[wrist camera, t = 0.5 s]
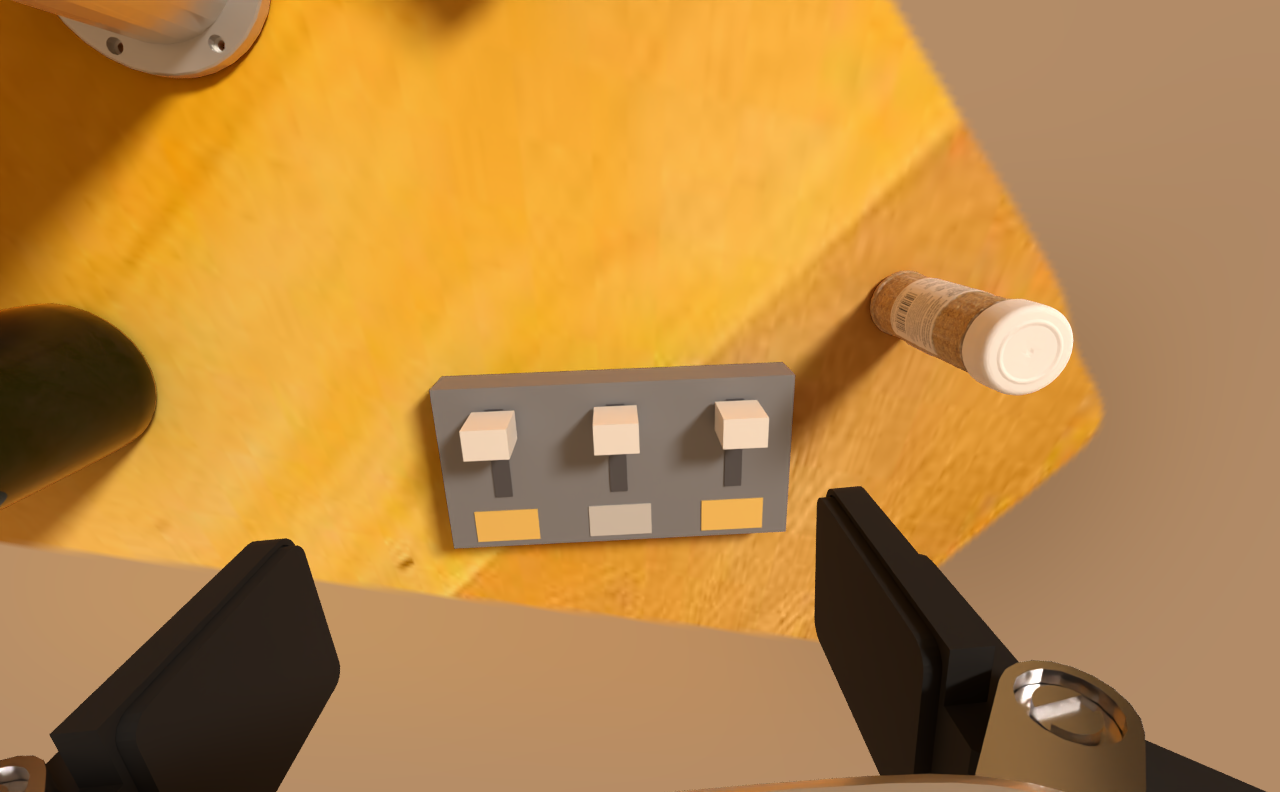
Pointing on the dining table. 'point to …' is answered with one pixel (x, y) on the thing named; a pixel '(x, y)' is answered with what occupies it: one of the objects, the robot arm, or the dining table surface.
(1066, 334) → the sprinkles bottle
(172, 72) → the robot arm
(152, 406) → the beer bottle
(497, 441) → the slider left
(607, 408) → the slider middle
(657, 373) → the switch panel
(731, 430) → the slider right
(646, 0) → the dining table surface
